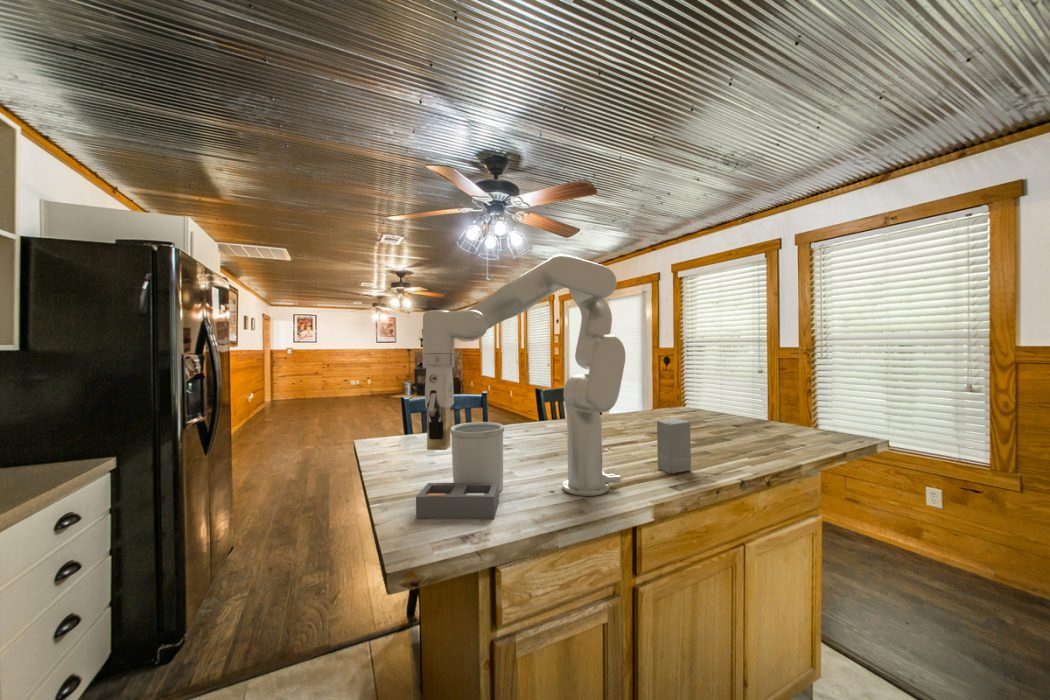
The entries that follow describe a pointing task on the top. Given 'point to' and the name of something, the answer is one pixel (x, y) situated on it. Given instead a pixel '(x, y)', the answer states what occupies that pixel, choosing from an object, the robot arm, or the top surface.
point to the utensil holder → (477, 453)
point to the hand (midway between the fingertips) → (439, 435)
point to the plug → (445, 442)
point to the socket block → (457, 501)
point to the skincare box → (674, 445)
